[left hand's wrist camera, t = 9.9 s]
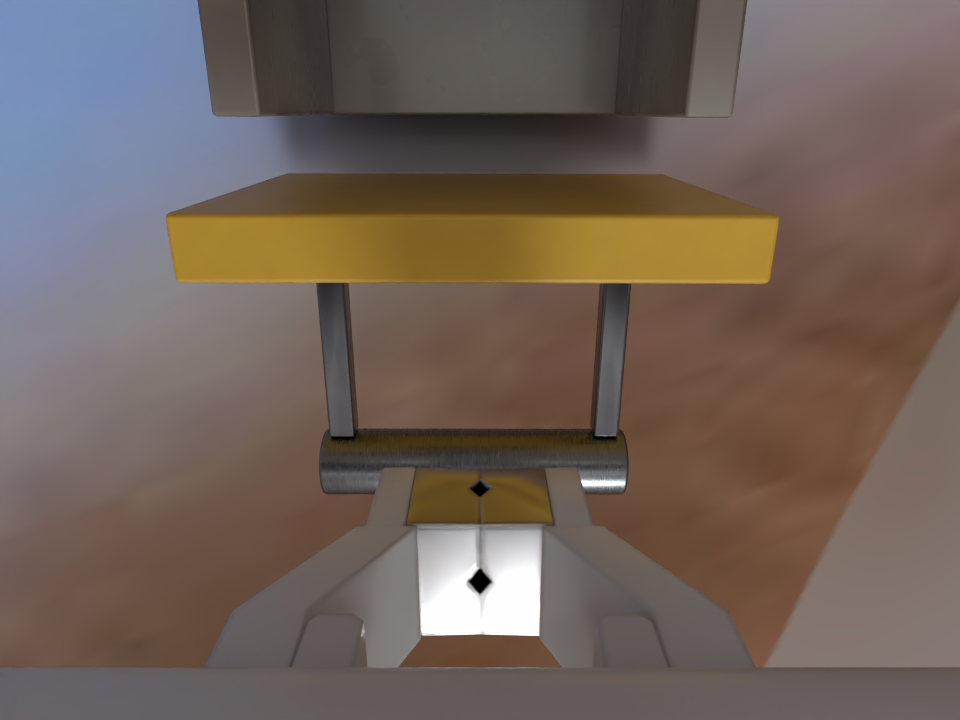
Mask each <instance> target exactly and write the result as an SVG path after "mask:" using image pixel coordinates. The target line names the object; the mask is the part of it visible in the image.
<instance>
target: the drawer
mask: <svg viewBox="0 0 960 720" xmlns="http://www.w3.org/2000/svg"><path fill="white" fill-rule="evenodd" d="M746 6H747V0H198V7H199V14H200V22H201V29H202V37H203V45H204V52H205V60H206V67H207V75H208V82H209V90H210V98H211V105H212V112H213V114H214V115H215V116H236V117H260V116H291V115H322V114H441V115H630V116H656V117H681V118H728V117H730V116H731V115H732V113H733V107H734V99H735V91H736V84H737V76H738V68H739V60H740V53H741V45H742V37H743V29H744V22H745V14H746ZM166 223H167V229H168V235H169V241H170V247H171V253H172V259H173V265H174V272H175V278H176V280H177V281H179V282H226V283H316V284H317V296H318V307H319V319H320V330H321V342H322V353H323V365H324V376H325V387H326V399H327V410H328V422H329V429H327V430H326V431H325V433H324V436H323V439H322V442H321V448H320V458H319V474H320V482H321V487H322V490H323V492H324V493H326V494H375V492H376V488H377V485H378V481H379V477H380V474H381V471H382V470H383V469H384V468H390V467H415V468H416V469H417V468H465V469H511V468H558V467H576V468H577V469H578V471H579V475H580V478H581V482H582V485H583V489H584V493H585V494H623V493H624V492H625V489H626V486H627V481H628V469H629V464H628V449H627V443H626V439H625V436H624V433H623V431H622V430H620V429H619V419H620V408H621V396H622V384H623V373H624V361H625V349H626V338H627V326H628V314H629V303H630V291H631V283H731V284H763V283H767V282H768V281H769V279H770V273H771V267H772V261H773V254H774V248H775V242H776V236H777V230H778V223H779V217H778V215H775V214H773V213H770V212H767V211H764V210H762V209H759V208H756V207H753V206H750V205H747V204H745V203H742V202H739V201H736V200H733V199H730V198H728V197H725V196H722V195H719V194H716V193H713V192H711V191H708V190H705V189H702V188H699V187H696V186H694V185H691V184H688V183H685V182H682V181H679V180H677V179H674V178H671V177H668V176H665V175H662V174H284V175H281V176H278V177H275V178H272V179H269V180H266V181H263V182H260V183H257V184H254V185H251V186H248V187H245V188H242V189H239V190H236V191H234V192H231V193H228V194H225V195H222V196H219V197H216V198H213V199H210V200H207V201H204V202H201V203H198V204H195V205H192V206H189V207H186V208H183V209H180V210H177V211H174V212H171V213H169V214H167V215H166ZM348 283H600V290H599V305H598V319H597V334H596V348H595V363H594V378H593V392H592V407H591V421H590V426H591V429H357V428H358V414H357V400H356V386H355V371H354V357H353V343H352V328H351V314H350V299H349V285H348Z"/></svg>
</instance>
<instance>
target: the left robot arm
mask: <svg viewBox="0 0 960 720" xmlns="http://www.w3.org/2000/svg"><path fill="white" fill-rule="evenodd" d="M462 634H496V635H533V636H539V639H540V640H541V641H542V642H543V644H544V645H545V646H546V647H547V649H548V650H549V651H550V652H551V654H552V655H553V656H554V657H555V658H556V660H557V661H558V662H559V663H560V665H561V666H562V667H563V668H398V666H399V665H400V664H401V663H402V661H403V660H404V659H405V658H406V657H407V655H408V654H409V653H410V652H411V650H412V649H413V648H414V647H415V645H416V644H417V643H418V642H419V640H420V639H421V636H427V635H462ZM0 720H960V668H756V667H755V664H754V662H753V660H752V658H751V656H750V654H749V652H748V650H747V648H746V646H745V644H744V642H743V640H742V638H741V636H740V634H739V632H738V630H737V628H736V626H735V624H734V622H733V620H732V618H731V616H730V614H729V612H728V611H726V610H725V609H723V608H722V607H721V606H719V605H718V604H716V603H715V602H713V601H712V600H710V599H709V598H707V597H706V596H705V595H703V594H702V593H700V592H699V591H697V590H696V589H694V588H693V587H691V586H690V585H688V584H687V583H686V582H684V581H683V580H681V579H680V578H678V577H677V576H675V575H674V574H672V573H671V572H669V571H668V570H667V569H665V568H664V567H662V566H661V565H659V564H658V563H656V562H655V561H653V560H652V559H650V558H649V557H648V556H646V555H645V554H643V553H642V552H640V551H639V550H637V549H636V548H634V547H633V546H631V545H630V544H629V543H627V542H626V541H624V540H623V539H621V538H620V537H618V536H617V535H615V534H614V533H612V532H611V531H610V530H608V529H607V528H605V527H604V526H594V525H593V521H592V518H591V514H590V511H589V507H588V503H587V500H586V496H585V493H584V489H583V485H582V482H581V478H580V475H579V471H578V469H577V468H576V467H558V468H511V469H465V468H417V469H416V468H415V467H390V468H384V469H383V470H382V471H381V474H380V477H379V481H378V485H377V488H376V492H375V496H374V499H373V503H372V507H371V510H370V514H369V518H368V521H367V525H366V526H356V527H355V528H353V529H352V530H350V531H349V532H348V533H346V534H345V535H343V536H342V537H340V538H339V539H337V540H336V541H334V542H333V543H331V544H330V545H328V546H327V547H326V548H324V549H323V550H321V551H320V552H318V553H317V554H315V555H314V556H312V557H311V558H309V559H308V560H306V561H305V562H303V563H302V564H301V565H299V566H298V567H296V568H295V569H293V570H292V571H290V572H289V573H287V574H286V575H284V576H283V577H281V578H280V579H279V580H277V581H276V582H274V583H273V584H271V585H270V586H268V587H267V588H265V589H264V590H262V591H261V592H259V593H258V594H257V595H255V596H254V597H252V598H251V599H249V600H248V601H246V602H245V603H243V604H242V605H240V606H239V607H237V608H236V609H234V610H233V611H232V612H231V614H230V616H229V618H228V620H227V622H226V624H225V626H224V628H223V630H222V632H221V634H220V636H219V638H218V640H217V642H216V644H215V646H214V648H213V650H212V652H211V654H210V656H209V658H208V660H207V662H206V664H205V666H204V668H138V667H38V668H0Z"/></svg>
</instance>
